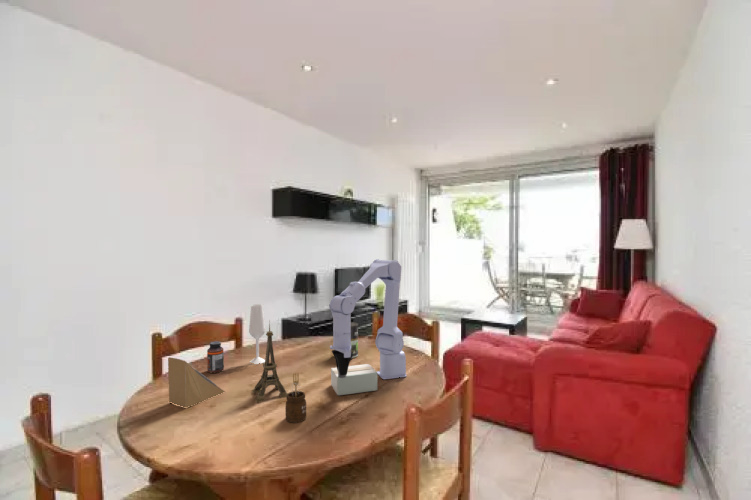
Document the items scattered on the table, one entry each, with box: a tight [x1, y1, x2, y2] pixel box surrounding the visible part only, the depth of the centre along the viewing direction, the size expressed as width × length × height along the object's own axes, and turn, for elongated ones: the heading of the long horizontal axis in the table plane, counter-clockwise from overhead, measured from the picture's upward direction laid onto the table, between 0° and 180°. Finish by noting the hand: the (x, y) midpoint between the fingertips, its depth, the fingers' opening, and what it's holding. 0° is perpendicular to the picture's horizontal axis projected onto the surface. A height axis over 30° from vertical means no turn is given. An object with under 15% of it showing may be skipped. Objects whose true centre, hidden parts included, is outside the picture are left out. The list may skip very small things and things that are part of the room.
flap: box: [337, 366, 378, 396], centre depth 128 cm, size 14×3×10 cm, turn 109°
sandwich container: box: [167, 357, 226, 407], centre depth 125 cm, size 9×15×15 cm, turn 151°
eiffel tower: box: [251, 319, 289, 403], centre depth 128 cm, size 11×11×25 cm
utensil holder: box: [284, 373, 307, 423], centre depth 110 cm, size 6×6×12 cm
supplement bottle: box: [206, 340, 225, 373], centre depth 151 cm, size 6×6×11 cm
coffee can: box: [350, 321, 359, 359], centre depth 171 cm, size 10×10×14 cm
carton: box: [330, 363, 377, 396], centre depth 134 cm, size 14×10×6 cm
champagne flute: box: [248, 303, 267, 365], centre depth 162 cm, size 7×7×24 cm
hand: (342, 373), depth 126 cm, fingers open, 3 cm apart
